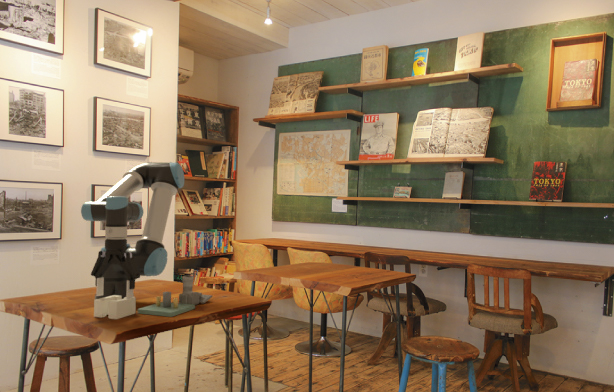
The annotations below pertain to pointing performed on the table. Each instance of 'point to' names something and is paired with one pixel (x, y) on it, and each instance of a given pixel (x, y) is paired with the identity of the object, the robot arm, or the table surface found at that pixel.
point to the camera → (191, 293)
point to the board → (166, 307)
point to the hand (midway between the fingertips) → (114, 297)
